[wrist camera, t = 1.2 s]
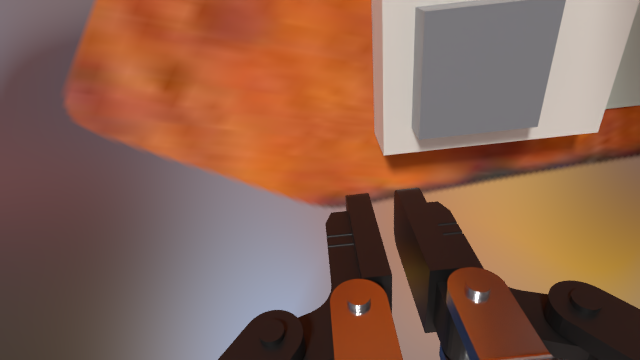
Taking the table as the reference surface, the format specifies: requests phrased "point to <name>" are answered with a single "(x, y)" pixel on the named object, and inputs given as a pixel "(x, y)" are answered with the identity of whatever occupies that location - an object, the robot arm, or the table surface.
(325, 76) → the table surface
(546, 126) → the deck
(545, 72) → the grey block
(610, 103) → the mat
